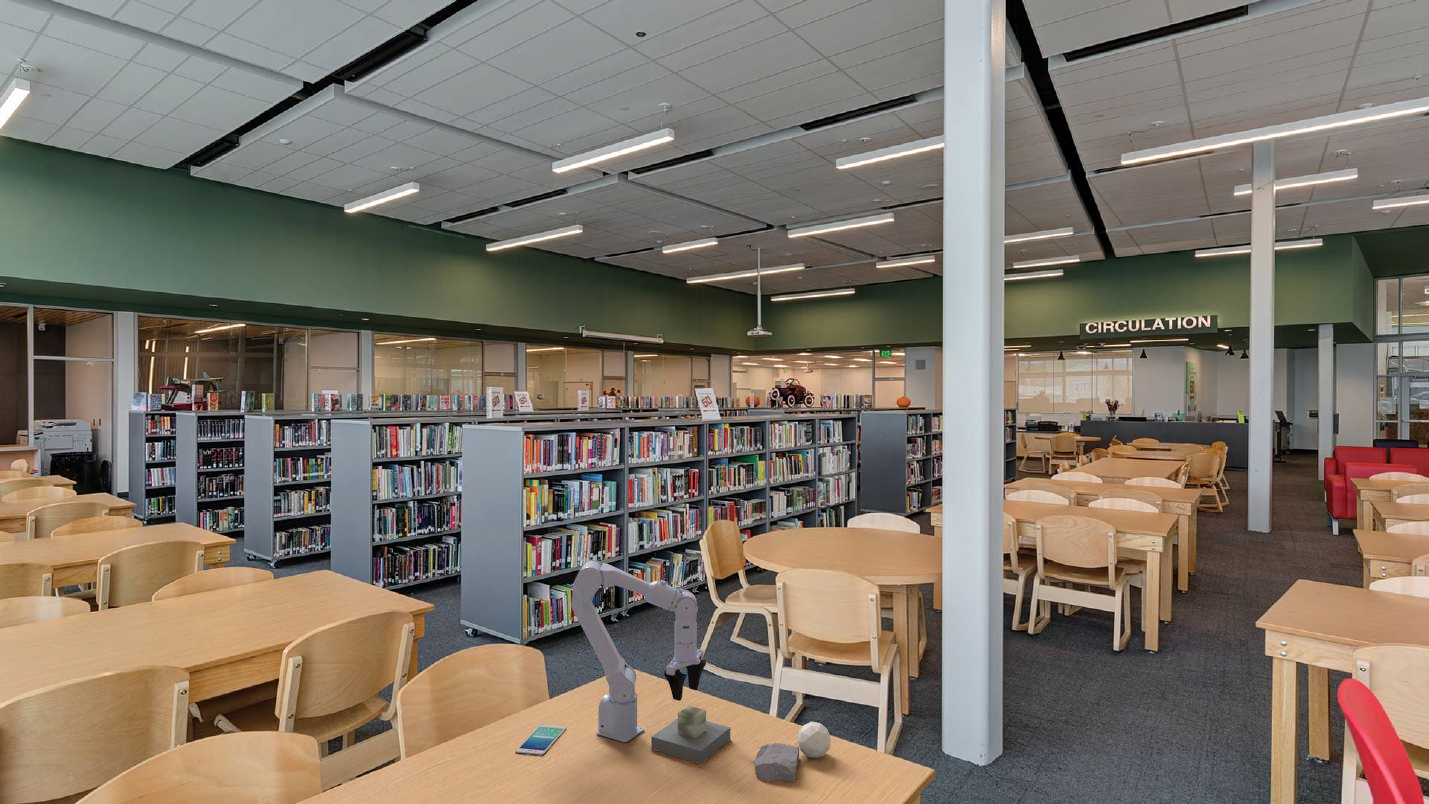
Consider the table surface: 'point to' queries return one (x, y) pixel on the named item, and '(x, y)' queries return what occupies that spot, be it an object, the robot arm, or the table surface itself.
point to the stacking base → (691, 742)
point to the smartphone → (541, 739)
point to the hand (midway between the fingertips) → (685, 694)
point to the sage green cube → (692, 722)
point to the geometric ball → (814, 740)
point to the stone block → (777, 762)
